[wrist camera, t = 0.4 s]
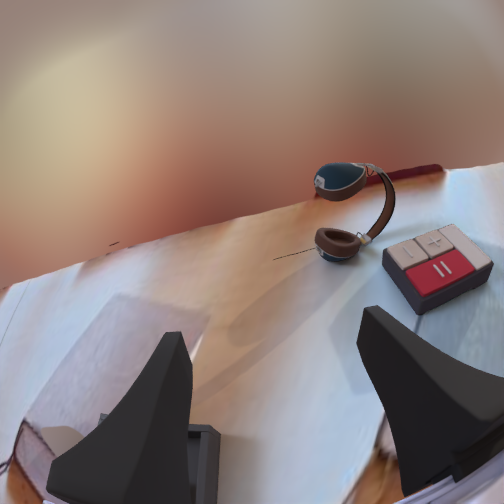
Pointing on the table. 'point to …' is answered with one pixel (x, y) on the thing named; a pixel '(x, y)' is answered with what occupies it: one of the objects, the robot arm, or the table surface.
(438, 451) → the robot arm
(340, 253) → the headphones
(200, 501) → the tub
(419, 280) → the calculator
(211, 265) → the table surface
